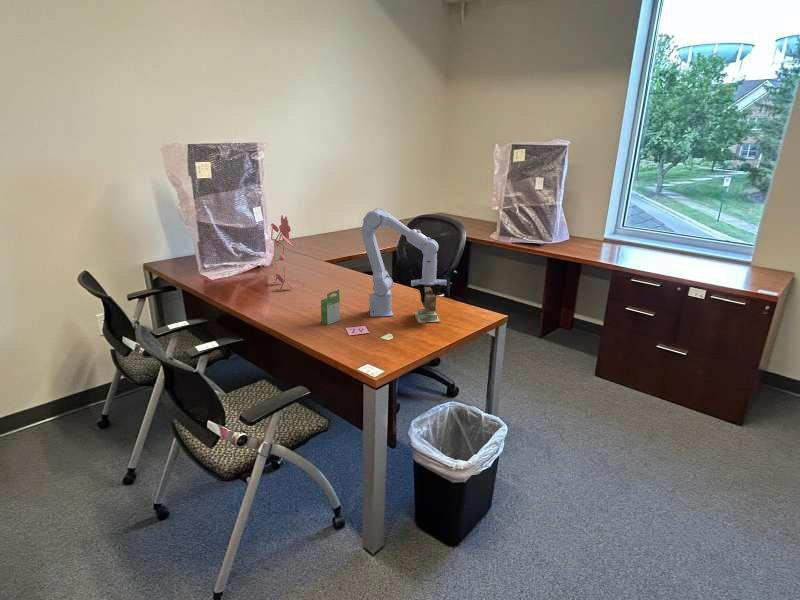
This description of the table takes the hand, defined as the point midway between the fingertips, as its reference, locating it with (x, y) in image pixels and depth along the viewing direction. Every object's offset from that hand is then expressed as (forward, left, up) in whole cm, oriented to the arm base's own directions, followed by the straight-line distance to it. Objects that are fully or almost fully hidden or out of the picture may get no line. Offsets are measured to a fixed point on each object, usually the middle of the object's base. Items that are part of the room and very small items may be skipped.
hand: (427, 301), depth 198 cm
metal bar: (0, 0, -2) cm, 2 cm away
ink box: (-40, -1, -8) cm, 41 cm away
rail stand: (0, 0, -7) cm, 7 cm away
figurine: (-60, +47, -8) cm, 77 cm away
